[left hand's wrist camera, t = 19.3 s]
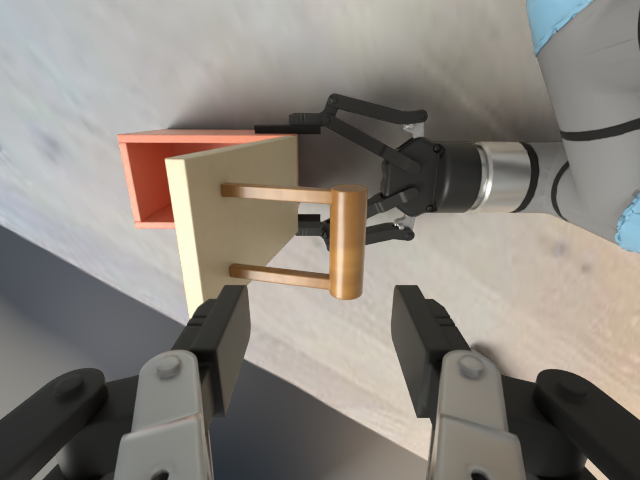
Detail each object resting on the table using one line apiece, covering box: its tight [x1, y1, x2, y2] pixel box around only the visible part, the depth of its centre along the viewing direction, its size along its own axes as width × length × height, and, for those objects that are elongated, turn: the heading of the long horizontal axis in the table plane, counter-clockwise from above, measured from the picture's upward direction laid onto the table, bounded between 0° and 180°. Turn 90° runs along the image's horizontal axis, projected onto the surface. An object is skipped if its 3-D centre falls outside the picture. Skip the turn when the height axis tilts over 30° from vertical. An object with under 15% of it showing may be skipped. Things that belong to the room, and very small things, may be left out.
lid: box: [165, 136, 368, 319], centre depth 24 cm, size 16×9×9 cm
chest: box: [117, 129, 300, 229], centre depth 38 cm, size 16×9×11 cm, turn 90°
